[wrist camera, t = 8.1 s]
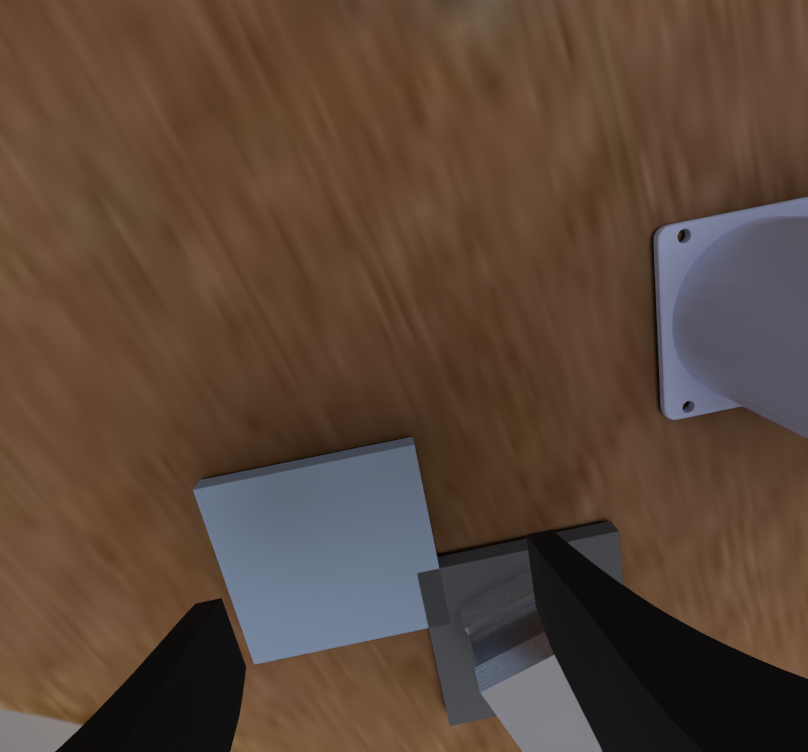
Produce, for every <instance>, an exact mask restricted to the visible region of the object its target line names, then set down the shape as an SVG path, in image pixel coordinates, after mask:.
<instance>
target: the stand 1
mask: <svg viewBox="0 0 808 752" xmlns="http://www.w3.org/2000/svg"><path fill="white" fill-rule="evenodd" d="M193 492H194V494H195V497H196V500H197V503H198V506H199V509H200V512H201V514H202V517H203V520H204V523H205V526H206V529H207V531H208V534H209V537H210V540H211V543H212V546H213V549H214V551H215V554H216V557H217V560H218V563H219V566H220V568H221V571H222V574H223V577H224V580H225V583H226V586H227V588H228V591H229V594H230V597H231V600H232V603H233V605H234V608H235V611H236V614H237V617H238V620H239V623H240V625H241V628H242V631H243V634H244V637H245V640H246V642H247V645H248V648H249V651H250V654H251V657H252V660H253V662H254V664H259V663H264V662H268V661H273V660H278V659H283V658H288V657H292V656H297V655H302V654H307V653H311V652H316V651H321V650H326V649H331V648H335V647H340V646H345V645H350V644H354V643H359V642H364V641H369V640H374V639H378V638H383V637H388V636H393V635H397V634H402V633H407V632H412V631H416V630H421V629H426V628H429V627H428V623H427V618H426V614H425V609H424V604H423V600H422V595H421V590H420V586H419V581H418V577H417V573H420V572H425V571H430V570H435V569H439V564H438V559H437V554H436V549H435V544H434V539H433V535H432V530H431V525H430V520H429V515H428V510H427V505H426V500H425V495H424V490H423V485H422V480H421V475H420V470H419V465H418V460H417V455H416V450H415V445H414V440H413V437H409V438H404V439H399V440H394V441H389V442H384V443H379V444H374V445H370V446H365V447H360V448H355V449H350V450H345V451H340V452H335V453H330V454H325V455H321V456H316V457H311V458H306V459H301V460H296V461H291V462H286V463H281V464H277V465H272V466H267V467H262V468H257V469H252V470H247V471H242V472H237V473H233V474H228V475H223V476H218V477H213V478H208V479H203V480H199V481H198V483H197V484H196V486H195V488H194V489H193Z"/></svg>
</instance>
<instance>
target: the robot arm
mask: <svg viewBox="0 0 808 752" xmlns="http://www.w3.org/2000/svg"><path fill="white" fill-rule="evenodd" d="M681 230H684V232H685V237H684V239H683V240H682V241H681V242H679V241H678V238H677V236H678V233H679V232H680V231H681ZM654 264H655V287H656V310H657V334H658V357H659V380H660V404H661V412H662V413H663V415H664V416H666V417H667V418H669V419H671V420H678V419H683V418H688V417H692V416H697V415H702V414H707V413H712V412H717V411H722V410H727V409H731V408H736V407H741V406H743V407H745V408H747V409H749V410H751V411H753V412H755V413H757V414H759V415H761V416H763V417H765V418H767V419H769V420H771V421H773V422H775V423H777V424H779V425H781V426H783V427H785V428H787V429H789V430H791V431H793V432H795V433H797V434H799V435H801V436H803V437H805V438H807V439H808V196H807V197H802V198H797V199H792V200H787V201H782V202H777V203H772V204H767V205H762V206H757V207H753V208H748V209H743V210H738V211H733V212H728V213H723V214H718V215H713V216H708V217H703V218H698V219H693V220H688V221H683V222H678V223H673V224H668V225H664V226H662V227H660V228H659V229H658V230H657V231H656V233H655V235H654ZM687 401H689V405H688V407H687V408H685V409H682V407H683V404H684V403H685V402H687ZM526 539H527V546H528V554H529V561H530V568H531V576H532V583H533V590H534V597H535V605H536V608H537V611H538V614H539V617H540V619H541V622H542V625H543V628H544V630H545V633H546V636H547V638H548V641H549V644H550V646H551V649H552V651H553V653H554V655H555V657H556V659H557V661H558V663H559V665H560V667H561V669H562V671H563V673H564V675H565V677H566V679H567V681H568V683H569V685H570V687H571V689H572V691H573V693H574V695H575V697H576V699H577V701H578V703H579V705H580V707H581V709H582V711H583V713H584V715H585V717H586V719H587V721H588V723H589V725H590V727H591V729H592V731H593V733H594V735H595V737H596V739H597V741H598V743H599V745H600V747H601V750H602V752H808V679H806V678H804V677H801V676H798V675H796V674H793V673H791V672H788V671H785V670H783V669H780V668H778V667H775V666H773V665H770V664H768V663H766V662H763V661H761V660H758V659H756V658H754V657H751V656H749V655H747V654H745V653H743V652H741V651H738V650H736V649H734V648H732V647H730V646H728V645H726V644H723V643H721V642H719V641H717V640H715V639H713V638H711V637H709V636H707V635H705V634H703V633H701V632H699V631H697V630H696V629H694V628H692V627H690V626H688V625H686V624H685V623H683V622H681V621H679V620H677V619H676V618H674V617H672V616H670V615H668V614H667V613H665V612H663V611H662V610H660V609H658V608H657V607H655V606H654V605H652V604H651V603H649V602H647V601H646V600H644V599H643V598H641V597H640V596H638V595H637V594H635V593H634V592H632V591H631V590H629V589H628V588H627V587H625V586H624V585H622V584H621V583H619V582H618V581H617V580H615V579H614V578H613V577H611V576H610V575H609V574H607V573H606V572H604V571H603V570H602V569H600V568H599V567H598V566H596V565H595V564H594V563H593V562H591V561H590V560H589V559H587V558H586V557H585V556H584V555H582V554H581V553H580V552H579V551H577V550H576V549H575V548H574V547H573V546H571V545H570V544H569V543H568V542H566V541H565V540H564V539H563V538H562V537H560V536H559V535H558V534H557V533H555V532H554V531H553V530H548V531H544V532H539V533H534V534H529V535H526ZM245 672H246V665H245V662H244V660H243V657H242V654H241V651H240V648H239V646H238V643H237V640H236V637H235V634H234V632H233V629H232V626H231V623H230V621H229V618H228V615H227V612H226V609H225V607H224V604H223V601H222V598H221V599H216V600H211V601H206V602H202V603H197V604H195V605H194V606H193V607H192V608H191V609H190V610H189V611H188V612H187V613H186V614H185V615H184V617H183V618H182V619H181V620H180V621H179V622H178V623H177V624H176V626H175V627H174V628H173V629H172V630H171V631H170V632H169V633H168V635H167V636H166V637H165V638H164V639H163V640H162V641H161V643H160V644H159V645H158V646H157V647H156V648H155V649H154V650H153V652H152V653H151V654H150V655H149V656H148V657H147V658H146V659H145V661H144V662H143V663H142V664H141V665H140V666H139V667H138V668H137V669H136V671H135V672H134V673H133V674H132V675H131V676H130V677H129V678H128V679H127V680H126V682H125V683H124V684H123V685H122V686H121V687H120V688H119V689H118V690H117V691H116V692H115V693H114V694H113V695H112V696H111V697H110V698H109V699H108V700H107V701H106V702H105V703H104V704H103V705H102V707H101V708H100V709H99V710H98V711H97V712H96V713H95V714H94V715H93V716H92V717H91V718H90V719H89V720H88V721H87V722H86V723H85V724H84V725H83V726H82V727H81V728H80V729H79V730H78V731H77V732H76V733H75V734H74V735H73V736H72V737H71V738H70V739H68V741H66V742H65V743H64V744H63V745H62V746H61V747H60V748H59V749H58V750H57V751H55V752H230V750H231V746H232V742H233V739H234V735H235V731H236V727H237V723H238V719H239V715H240V709H241V702H242V695H243V688H244V680H245Z"/></svg>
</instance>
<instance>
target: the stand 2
mask: <svg viewBox="0 0 808 752" xmlns="http://www.w3.org/2000/svg"><path fill="white" fill-rule="evenodd" d="M555 533H557V534H558V535H559V536H560V537H562V538H563V539H564V540H565V541H566V542H568V543H569V544H570V545H571V546H573V547H574V548H575V549H576V550H577V551H579V552H580V553H581V554H582V555H584V556H585V557H586V558H587V559H589V560H590V561H591V562H593V563H594V564H595V565H596V566H598V567H599V568H600V569H602V570H603V571H604V572H606V573H607V574H609V575H610V576H611V577H613V578H614V579H615V580H617V581H618V582H619V583H621V584H622V585H623V582H622V568H621V555H620V541H619V531H618V530H617V528H616V527H615V526H614V525H613V523H612V522H611V521H608V522H604V523H599V524H594V525H589V526H584V527H579V528H575V529H570V530H565V531H560V532H555ZM437 559H438V564H439V569H435V570H430V571H425V572H420V573H417V577H418V581H419V586H420V590H421V595H422V600H423V604H424V609H425V614H426V618H427V623H428V627H429V632H430V637H431V641H432V646H433V650H434V655H435V660H436V664H437V669H438V674H439V678H440V683H441V687H442V692H443V697H444V701H445V706H446V710H447V715H448V720H449V724H450V726H452V725H456V724H461V723H466V722H470V721H475V720H480V719H485V718H489V717H494V716H497V715H496V714H495V713H494V711H493V710H492V708H491V707H490V706H489V704H488V703H487V701H486V700H485V699H484V697H483V696H482V694H481V693H480V689H479V685H478V681H477V677H476V673H475V669H474V668H475V667H477V664H476V660H475V656H474V652H473V648H472V644H471V640H470V636H469V634H468V633H467V631H466V630H465V628H464V624H463V620H462V615H461V611H460V607H459V605H461V604H463V603H465V602H467V601H469V600H470V599H472V598H474V597H476V596H478V595H480V594H482V593H484V592H485V591H487V590H489V589H491V588H493V587H495V586H497V585H499V584H501V583H502V582H504V581H506V580H508V579H510V578H512V577H514V576H516V575H517V574H519V573H521V572H523V571H525V570H527V569H529V568H530V561H529V554H528V546H527V539H522V540H517V541H512V542H507V543H502V544H498V545H493V546H488V547H483V548H478V549H474V550H469V551H464V552H459V553H454V554H449V555H445V556H440V557H437Z"/></svg>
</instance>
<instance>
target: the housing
mask: <svg viewBox="0 0 808 752" xmlns="http://www.w3.org/2000/svg"><path fill="white" fill-rule="evenodd" d="M459 607H460V611H461V615H462V620H463V624H464V628H465V630H466V631H467V633H468V634H469V636H470V640H471V644H472V648H473V652H474V656H475V660H476V664H477V667H475V668H474V669H475V673H476V677H477V681H478V685H479V689H480V693H481V694H482V696H483V697H484V699H485V700H486V701H487V703H488V704H489V706H490V707H491V708H492V710H493V711H494V713H495V714H496V715H497V717H498V718H499V719H500V721H501V722H502V724H503V725H504V726H505V728H506V729H507V731H508V732H509V733H510V735H511V736H512V738H513V739H514V740H515V742H516V743H517V745H518V746H519V747H520V749H521V750H522V752H602V750H601V747H600V745H599V743H598V741H597V739H596V737H595V735H594V733H593V731H592V729H591V727H590V725H589V723H588V721H587V719H586V717H585V715H584V713H583V711H582V709H581V707H580V705H579V703H578V701H577V699H576V697H575V695H574V693H573V691H572V689H571V687H570V685H569V683H568V681H567V679H566V677H565V675H564V673H563V671H562V669H561V667H560V665H559V663H558V661H557V659H556V657H555V655H554V653H553V651H552V649H551V646H550V644H549V641H548V638H547V636H546V633H545V630H544V628H543V625H542V622H541V619H540V617H539V614H538V611H537V608H536V605H535V597H534V590H533V583H532V576H531V568H529V569H527V570H525V571H523V572H521V573H519V574H517V575H516V576H514V577H512V578H510V579H508V580H506V581H504V582H502V583H501V584H499V585H497V586H495V587H493V588H491V589H489V590H487V591H485V592H484V593H482V594H480V595H478V596H476V597H474V598H472V599H470V600H469V601H467V602H465V603H463V604H461V605H459Z"/></svg>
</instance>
